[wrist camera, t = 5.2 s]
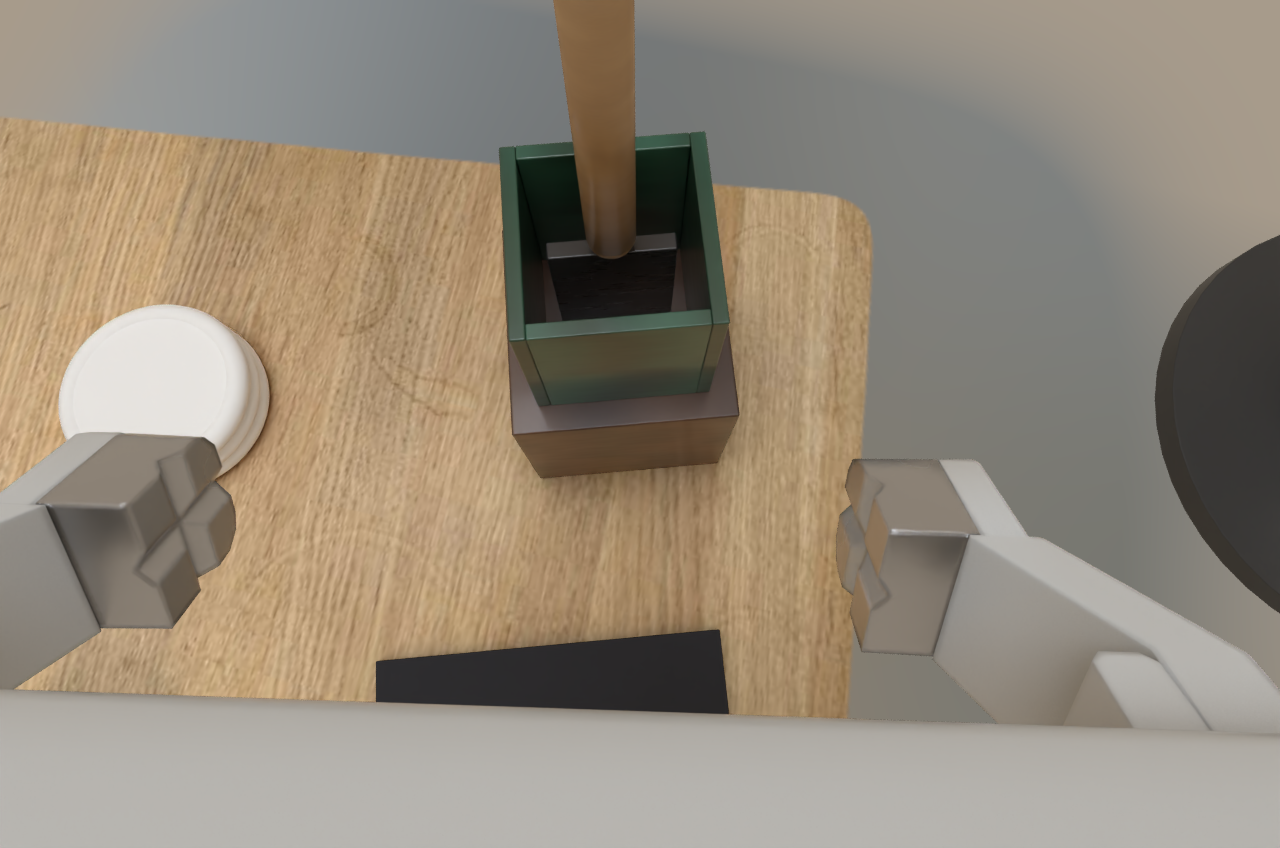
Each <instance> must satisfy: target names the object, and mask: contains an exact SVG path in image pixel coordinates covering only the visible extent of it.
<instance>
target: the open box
mask: <svg viewBox="0 0 1280 848" xmlns="http://www.w3.org/2000/svg"><path fill="white" fill-rule="evenodd" d="M635 155H636V236H638V235H651V234H663V233H676V238H677V247H678V249H677V259H676V269H675V279H674V289H673V299H672V309H671V312H667V313H655V314H643V315H631V316H619V317H607V318H595V319H583V320H571V321H562V317H561V313H560V309H559V305H558V301H557V297H556V293H555V289H554V285H553V281H552V277H551V273H550V269H549V265H548V261H547V254H546V243H552V242H564V241H576V240H586V236H585V228H584V221H583V214H582V206H581V199H580V192H579V184H578V177H577V170H576V162H575V155H574V148H573V142H563V143H550V144H537V145H524V146H516V148H515V147H514V146H512V147H501V148H499V160H500V180H501V200H502V221H503V231H502V238H503V258H504V279H505V299H506V320H507V340H508V360H509V381H510V401H511V422H512V435H513V437H514V438H515V440H516V441H517V443H518V444H519V446H520V447H521V449H522V450H523V452H524V453H525V455H526V456H527V458H528V460H529V461H530V463H531V464H532V466H533V467H534V469H535V470H536V472H537V473H538V475H539V476H540V478H550V477H561V476H573V475H584V474H595V473H607V472H618V471H630V470H641V469H652V468H664V467H675V466H687V465H698V464H709V463H717V462H718V460H719V458H720V456H721V453H722V451H723V449H724V447H725V445H726V443H727V441H728V438H729V436H730V434H731V432H732V430H733V428H734V426H735V424H736V421H737V419H738V417H739V407H738V399H737V391H736V383H735V375H734V367H733V359H732V352H731V344H730V336H729V328H728V326H729V323H730V320H729V312H728V304H727V296H726V288H725V281H724V273H723V265H722V257H721V249H720V241H719V234H718V226H717V218H716V210H715V202H714V194H713V187H712V179H711V171H710V163H709V155H708V148H707V140H706V133H705V132H692V133H690V134H689V133H678V134H666V135H653V136H640V137H635Z"/></svg>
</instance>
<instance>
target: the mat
mask: <svg viewBox="0 0 1280 848" xmlns="http://www.w3.org/2000/svg"><path fill="white" fill-rule="evenodd" d="M376 702H385V703H413V704H442V705H473V706H503V707H534V708H563V709H591V710H620V711H648V712H677V713H705V714H729V710H728V701H727V692H726V684H725V675H724V666H723V657H722V648H721V639H720V630H707V631H697V632H686V633H675V634H664V635H653V636H643V637H632V638H621V639H610V640H600V641H589V642H578V643H567V644H557V645H546V646H535V647H524V648H513V649H503V650H492V651H481V652H470V653H460V654H449V655H438V656H427V657H417V658H406V659H395V660H384V661H377V662H376Z"/></svg>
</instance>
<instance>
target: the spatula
mask: <svg viewBox="0 0 1280 848" xmlns="http://www.w3.org/2000/svg"><path fill="white" fill-rule="evenodd" d="M553 1H554V9H555V16H556V23H557V31H558V38H559V45H560V52H561V60H562V67H563V74H564V82H565V89H566V97H567V104H568V111H569V118H570V125H571V133H572V140H573V148H574V155H575V162H576V170H577V177H578V184H579V192H580V199H581V206H582V214H583V221H584V228H585V236H586V240H576V241H564V242H552V243H546V254H547V261H548V265H549V269H550V273H551V277H552V281H553V285H554V289H555V293H556V297H557V301H558V305H559V309H560V313H561V317H562V321H571V320H583V319H595V318H607V317H619V316H631V315H643V314H655V313H667V312H671V309H672V299H673V289H674V279H675V269H676V259H677V249H678V247H677V238H676V233H663V234H651V235H638V236H636V155H635V44H634V43H635V39H634V38H635V34H634V32H635V30H634V0H553Z"/></svg>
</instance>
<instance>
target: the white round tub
mask: <svg viewBox="0 0 1280 848" xmlns="http://www.w3.org/2000/svg"><path fill="white" fill-rule="evenodd" d="M58 405H59V418H60V423H61V428H62V430H63V433H64V436H65V438H66V440H69V439H70V438H71V437H73V436H74V435H75V434H78V433H86V432H122V433H125V434H127V433H136V434H155V435H175V436H194V437H205V438H206V439H208V440H209V441H210V442H212V443H213V444H215V447H216V449H217V452H218V455H219V458H220V461H221V464H222V468H221V470H220V472H219V474H218V476H217V477H219V476H221V475H222V474H224V473H225V472H227V471H228V470H230V469H231V468H232V467H233V466H235V465H236V464H237V463H238V462H239V461H240V460H241V459H242V458H243V457H244V456H245V455H246V454H247V453H248V451H249V450H250V449H251V448H252V446H253V445H254V443H255V442H256V440H257V438H258V437H259V435H260V433H261V431H262V428H263V426H264V423H265V420H266V417H267V413H268V407H269V384H268V379H267V375H266V372H265V369H264V367H263V365H262V363H261V360H260V358H259V357H258V355H257V354H256V352H255V350H254V349H253V348H252V347H251V346H250V345H249V343H248V342H247V341H246V340H244V339H243V338H242V337H241V336H239V335H238V334H236V333H235V332H234V331H232V330H231V329H230V328H229V327H227V326H225V325H224V324H223V323H221V322H220V321H219V320H218V319H216V318H214V317H213V316H211V315H209V314H207V313H205V312H203V311H200V310H198V309H194V308H190V307H186V306H179V305H153V306H147V307H143V308H138V309H135V310H133V311H130V312H127V313H125V314H123V315H121V316H118V317H116V318H115V319H113V320H111V321H110V322H108V323H106V324H105V325H103V326H102V327H101V328H99V329H98V330H97V331H95V332H94V333H93V334H92V335H91V336H90V337H89V338H88V339H87V340H86V341H85V342H84V343H83V345H82V346H81V347H80V348H79V349H78V351H77V352H76V354H75V355H74V357H73V358H72V360H71V362H70V364H69V365H68V367H67V369H66V372H65V375H64V377H63V380H62V384H61V388H60V393H59V403H58ZM217 477H216V478H217Z"/></svg>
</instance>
